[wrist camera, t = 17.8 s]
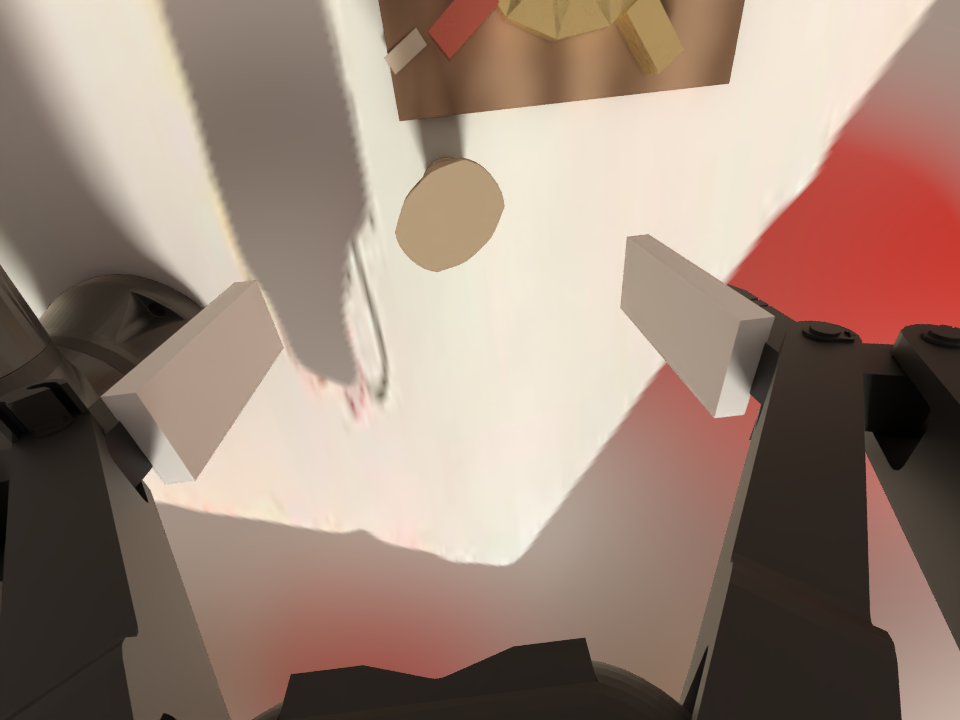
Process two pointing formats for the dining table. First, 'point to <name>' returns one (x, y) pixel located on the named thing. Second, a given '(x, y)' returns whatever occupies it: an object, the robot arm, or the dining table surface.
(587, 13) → the ring nut
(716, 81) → the board
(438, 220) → the handle
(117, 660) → the robot arm
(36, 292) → the dining table surface
